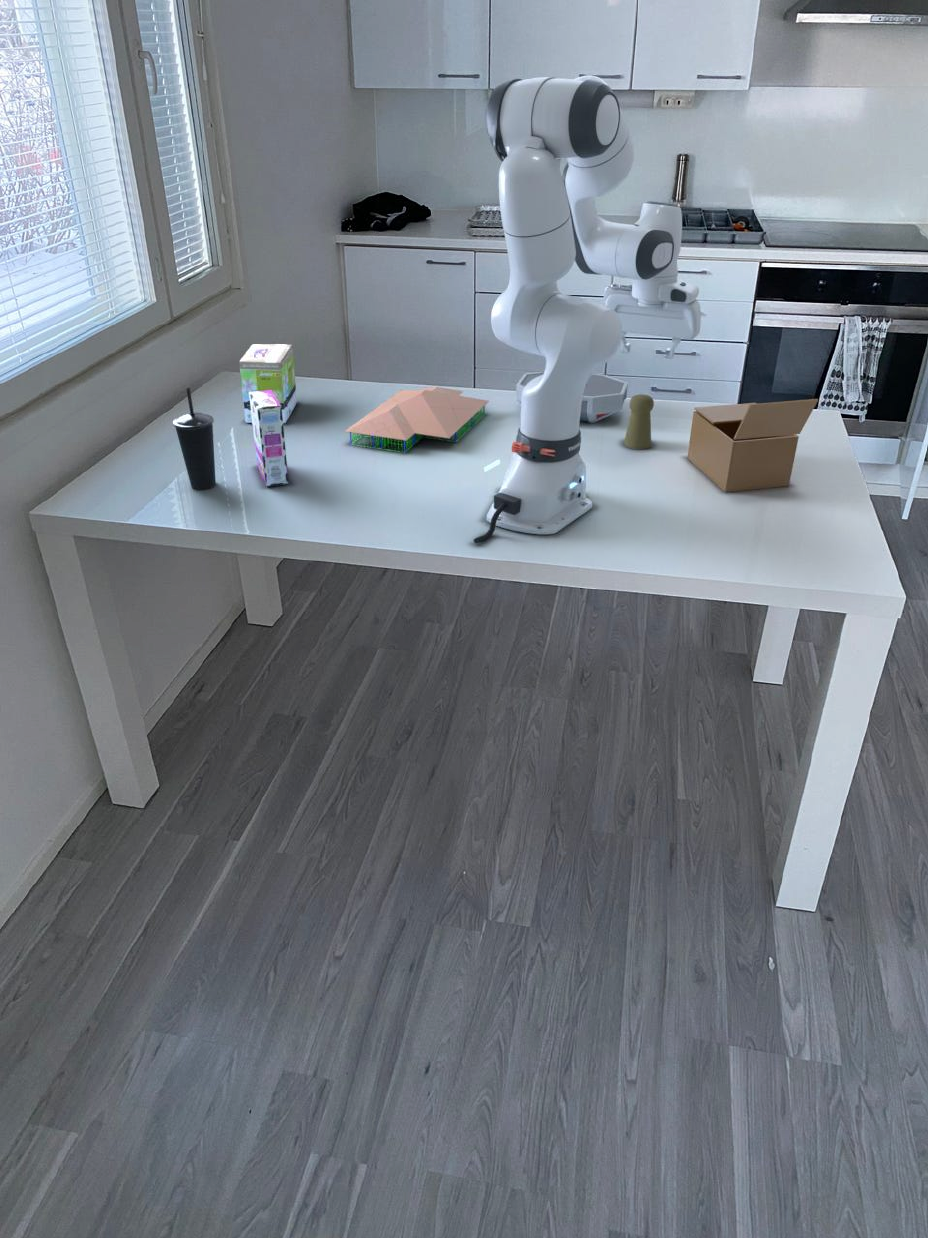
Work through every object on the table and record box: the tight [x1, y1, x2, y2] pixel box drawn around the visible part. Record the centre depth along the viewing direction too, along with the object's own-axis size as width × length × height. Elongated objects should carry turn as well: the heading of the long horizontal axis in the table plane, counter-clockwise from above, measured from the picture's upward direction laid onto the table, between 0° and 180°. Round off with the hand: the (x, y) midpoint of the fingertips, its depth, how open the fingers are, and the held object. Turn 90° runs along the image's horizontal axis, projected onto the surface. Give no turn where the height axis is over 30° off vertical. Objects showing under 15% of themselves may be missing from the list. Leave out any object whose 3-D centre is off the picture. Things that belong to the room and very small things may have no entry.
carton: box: [686, 402, 800, 493], centre depth 192 cm, size 18×14×11 cm
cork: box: [623, 393, 655, 450], centre depth 205 cm, size 6×6×11 cm
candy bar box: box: [249, 390, 290, 487], centre depth 189 cm, size 11×5×16 cm, turn 20°
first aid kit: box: [515, 370, 629, 424], centre depth 222 cm, size 18×8×25 cm
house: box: [344, 386, 490, 454], centre depth 214 cm, size 23×33×8 cm
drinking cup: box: [172, 387, 217, 491], centre depth 183 cm, size 8×8×20 cm
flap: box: [734, 398, 819, 440], centre depth 178 cm, size 9×14×1 cm
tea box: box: [239, 343, 298, 424], centre depth 221 cm, size 15×10×15 cm
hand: (647, 355), depth 197 cm, fingers open, 8 cm apart
